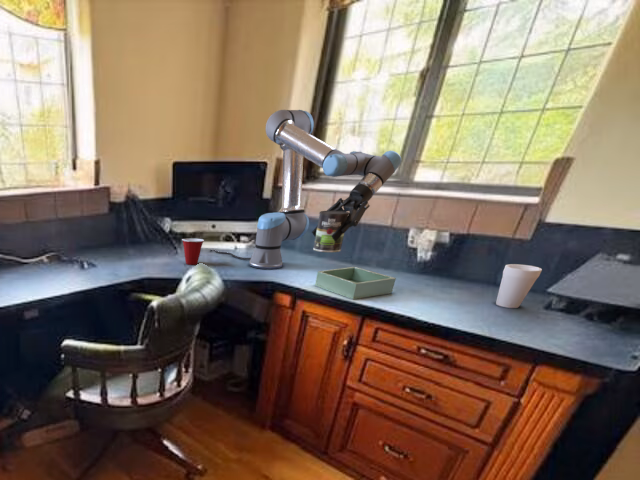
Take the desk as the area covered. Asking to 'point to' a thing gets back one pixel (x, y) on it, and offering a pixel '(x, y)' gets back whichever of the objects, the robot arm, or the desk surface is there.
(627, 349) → the desk surface
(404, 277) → the desk surface
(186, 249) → the plastic cup
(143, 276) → the desk surface
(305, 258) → the desk surface
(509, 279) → the foam cup
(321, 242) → the coffee can
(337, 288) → the tray
